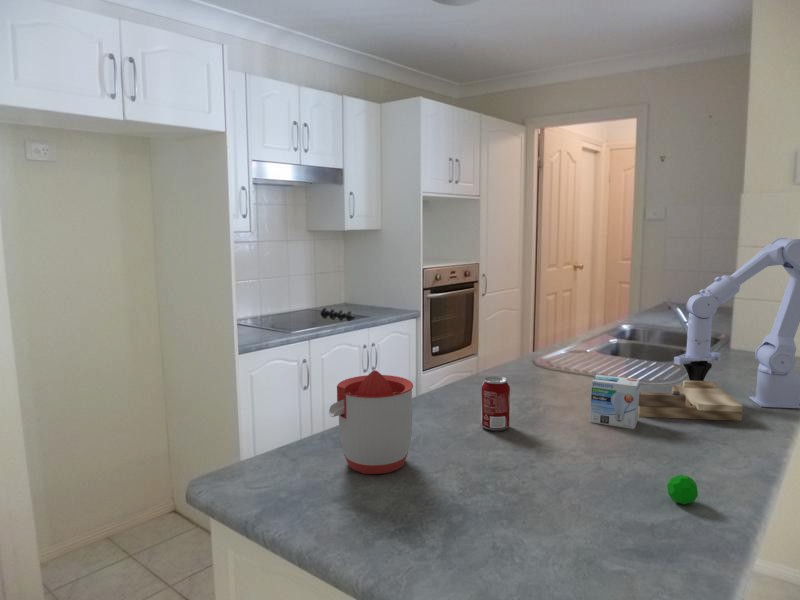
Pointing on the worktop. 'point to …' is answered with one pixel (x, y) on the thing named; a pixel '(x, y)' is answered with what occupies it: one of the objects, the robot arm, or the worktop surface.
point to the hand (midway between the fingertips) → (695, 388)
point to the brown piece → (687, 412)
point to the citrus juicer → (374, 421)
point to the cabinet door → (662, 399)
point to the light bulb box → (615, 401)
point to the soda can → (495, 403)
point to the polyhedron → (682, 489)
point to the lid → (709, 396)
